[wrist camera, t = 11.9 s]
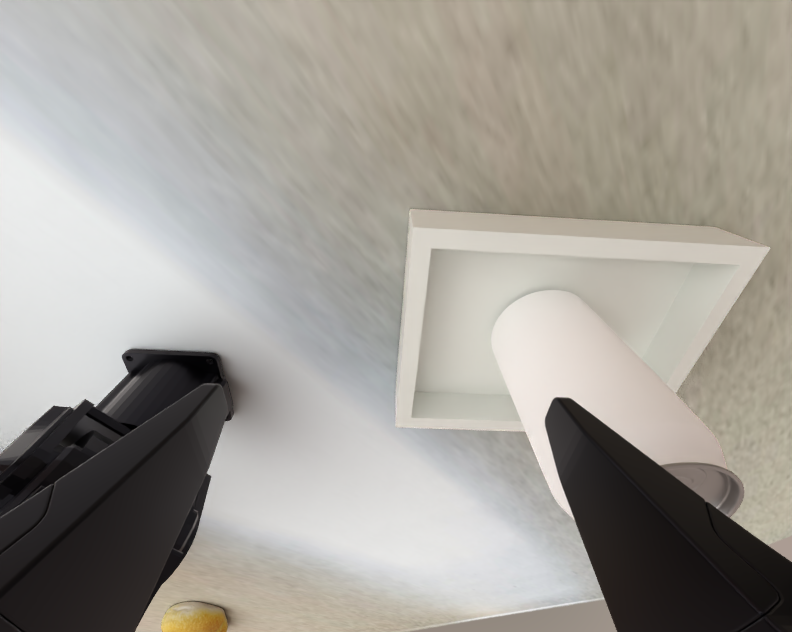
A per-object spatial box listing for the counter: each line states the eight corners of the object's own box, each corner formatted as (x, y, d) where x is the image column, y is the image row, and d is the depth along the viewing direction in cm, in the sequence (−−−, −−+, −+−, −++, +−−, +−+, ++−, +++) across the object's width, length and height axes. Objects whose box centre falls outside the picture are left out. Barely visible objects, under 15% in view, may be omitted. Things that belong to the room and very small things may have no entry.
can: (606, 293, 21) (806, 466, 11) (565, 372, 25) (688, 562, 14) (506, 279, 21) (617, 448, 11) (477, 362, 24) (540, 552, 14)
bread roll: (223, 598, 46) (210, 637, 43) (233, 624, 51) (222, 661, 48) (159, 597, 46) (141, 636, 42) (176, 623, 50) (160, 661, 47)
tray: (395, 391, 27) (395, 427, 24) (409, 208, 20) (413, 227, 17) (620, 399, 28) (647, 435, 25) (714, 226, 20) (770, 247, 17)
